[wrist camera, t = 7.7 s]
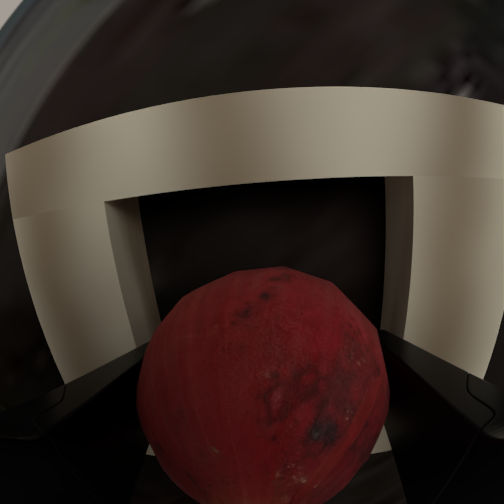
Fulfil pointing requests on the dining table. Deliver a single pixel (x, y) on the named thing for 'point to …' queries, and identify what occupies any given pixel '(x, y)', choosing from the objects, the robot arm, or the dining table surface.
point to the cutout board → (265, 170)
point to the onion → (263, 389)
